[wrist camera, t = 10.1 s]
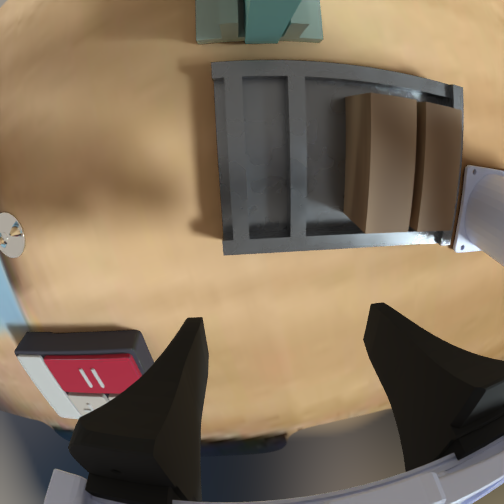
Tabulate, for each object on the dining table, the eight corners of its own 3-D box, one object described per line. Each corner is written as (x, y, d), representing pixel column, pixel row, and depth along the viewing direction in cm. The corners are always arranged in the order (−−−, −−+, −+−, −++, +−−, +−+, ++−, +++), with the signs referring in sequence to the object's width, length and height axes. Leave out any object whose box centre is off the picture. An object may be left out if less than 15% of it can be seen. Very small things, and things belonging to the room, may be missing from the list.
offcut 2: (427, 108, 17) (461, 110, 13) (421, 211, 20) (451, 230, 17) (394, 102, 17) (426, 101, 13) (389, 212, 20) (416, 231, 17)
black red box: (171, 427, 26) (58, 421, 26) (174, 397, 30) (68, 397, 30) (132, 354, 22) (9, 355, 21) (142, 322, 26) (26, 330, 25)
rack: (439, 88, 17) (462, 87, 14) (430, 230, 22) (449, 244, 19) (214, 69, 17) (210, 60, 14) (224, 240, 22) (223, 258, 19)
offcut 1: (385, 101, 17) (416, 99, 13) (381, 212, 20) (408, 232, 17) (345, 96, 17) (370, 92, 13) (343, 213, 20) (365, 233, 16)
